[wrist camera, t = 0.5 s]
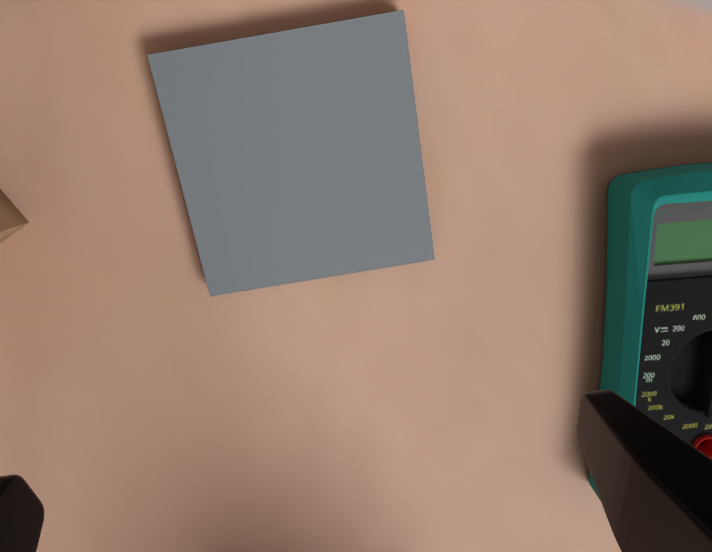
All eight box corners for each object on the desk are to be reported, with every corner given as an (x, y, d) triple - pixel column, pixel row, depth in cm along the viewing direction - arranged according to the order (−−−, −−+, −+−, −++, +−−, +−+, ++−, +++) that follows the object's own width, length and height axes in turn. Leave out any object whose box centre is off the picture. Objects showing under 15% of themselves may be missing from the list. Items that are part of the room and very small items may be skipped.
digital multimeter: (581, 490, 26) (613, 539, 23) (601, 169, 21) (643, 178, 18) (737, 477, 26) (788, 524, 23) (790, 154, 21) (861, 160, 18)
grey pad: (431, 254, 22) (434, 259, 21) (214, 290, 22) (210, 296, 21) (401, 13, 19) (403, 9, 18) (154, 57, 19) (147, 54, 18)
